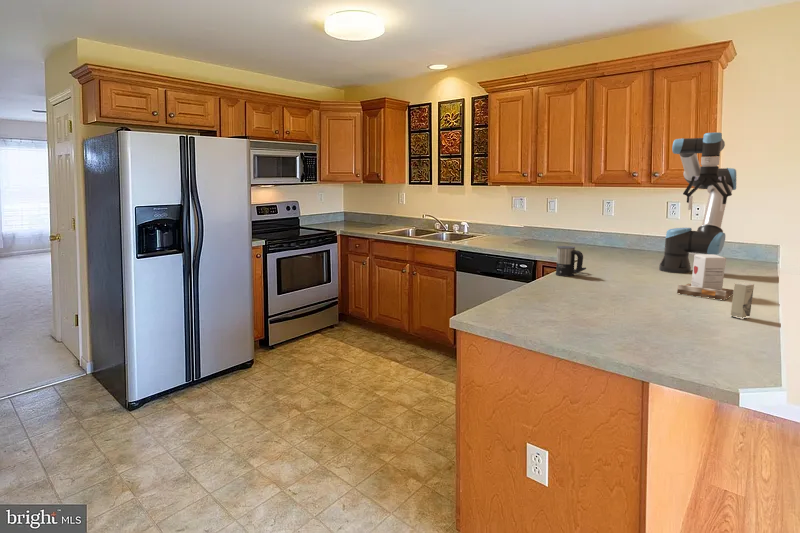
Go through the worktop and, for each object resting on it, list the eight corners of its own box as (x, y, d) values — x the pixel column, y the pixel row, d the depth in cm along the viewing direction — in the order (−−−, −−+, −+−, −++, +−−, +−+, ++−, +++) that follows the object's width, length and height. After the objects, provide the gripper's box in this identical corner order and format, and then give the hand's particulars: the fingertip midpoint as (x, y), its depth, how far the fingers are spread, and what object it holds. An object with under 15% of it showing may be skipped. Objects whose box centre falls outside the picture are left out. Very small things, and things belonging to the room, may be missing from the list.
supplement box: (690, 286, 225) (693, 254, 222) (710, 286, 225) (714, 254, 222) (701, 291, 216) (705, 257, 214) (722, 291, 216) (726, 257, 213)
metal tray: (676, 293, 221) (677, 284, 220) (687, 287, 232) (688, 279, 232) (724, 301, 209) (725, 291, 208) (733, 294, 220) (734, 285, 219)
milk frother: (553, 275, 260) (554, 247, 258) (559, 270, 274) (561, 243, 271) (581, 278, 254) (583, 249, 251) (587, 272, 267) (589, 245, 264)
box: (742, 320, 182) (746, 285, 180) (729, 317, 186) (733, 283, 183) (750, 318, 184) (754, 284, 182) (737, 315, 188) (742, 281, 186)
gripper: (678, 166, 246) (674, 209, 251) (738, 165, 229) (733, 212, 233) (683, 165, 251) (679, 208, 256) (742, 165, 234) (737, 210, 238)
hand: (705, 210), depth 244 cm, fingers open, 13 cm apart
